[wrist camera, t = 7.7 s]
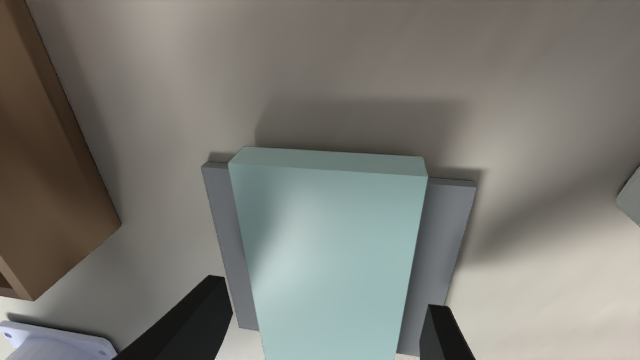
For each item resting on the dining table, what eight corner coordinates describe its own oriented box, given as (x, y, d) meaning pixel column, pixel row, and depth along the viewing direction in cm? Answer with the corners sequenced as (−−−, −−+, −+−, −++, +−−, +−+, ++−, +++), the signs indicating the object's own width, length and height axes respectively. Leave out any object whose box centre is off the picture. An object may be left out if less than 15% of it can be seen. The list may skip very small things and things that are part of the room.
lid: (388, 360, 14) (389, 388, 13) (274, 342, 15) (266, 366, 14) (423, 156, 9) (428, 176, 8) (243, 146, 10) (227, 163, 9)
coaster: (427, 349, 14) (428, 358, 14) (242, 320, 16) (239, 327, 15) (473, 180, 10) (476, 187, 9) (206, 161, 11) (200, 167, 11)
